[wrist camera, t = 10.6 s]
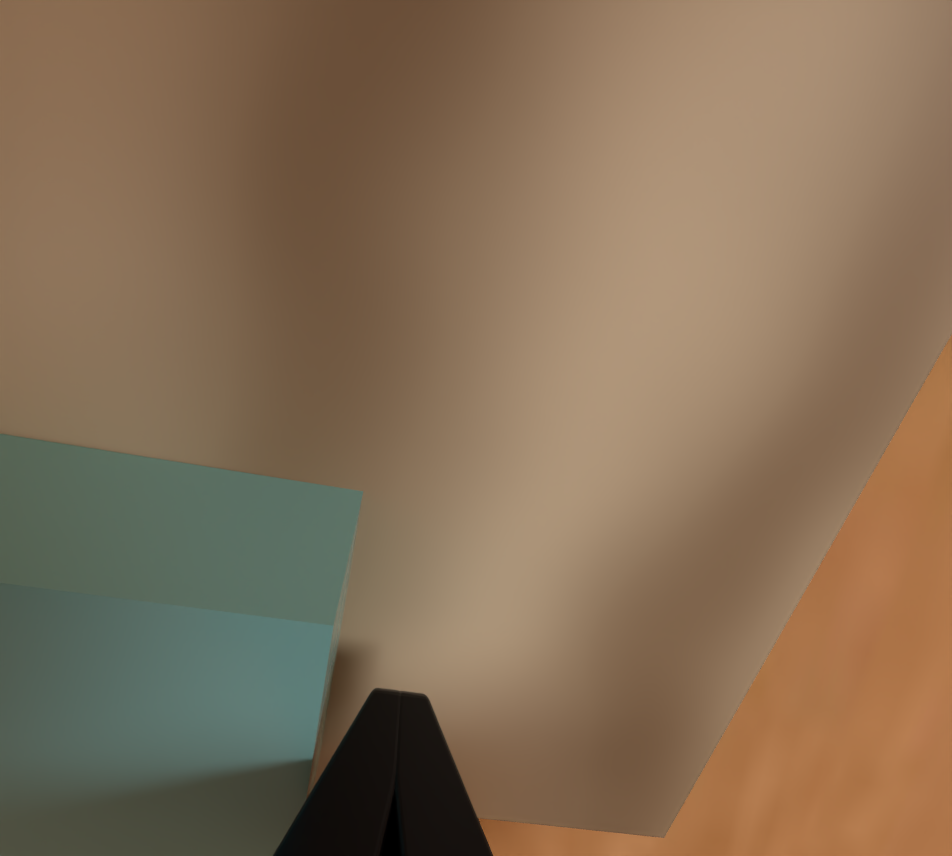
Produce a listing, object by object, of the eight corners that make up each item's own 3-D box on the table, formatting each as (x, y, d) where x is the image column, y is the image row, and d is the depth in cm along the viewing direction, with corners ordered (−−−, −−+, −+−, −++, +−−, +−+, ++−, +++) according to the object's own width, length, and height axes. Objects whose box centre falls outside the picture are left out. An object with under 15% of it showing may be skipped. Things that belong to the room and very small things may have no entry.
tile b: (363, 491, 8) (334, 626, 6) (321, 744, 10) (287, 914, 8) (-44, 426, 8) (-250, 550, 5) (-2, 710, 10) (-138, 886, 7)
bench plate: (1099, -202, 7) (1322, -315, 5) (635, 744, 14) (663, 837, 12) (-299, -736, 5) (-690, -1191, 3) (-57, 656, 12) (-149, 751, 10)
